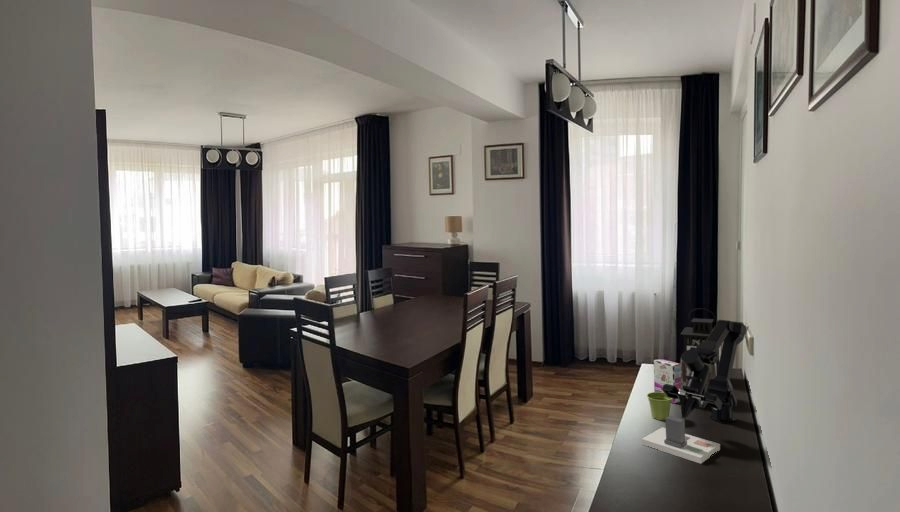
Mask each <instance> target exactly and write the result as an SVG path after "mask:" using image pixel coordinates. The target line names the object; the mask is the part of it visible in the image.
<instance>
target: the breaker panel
mask: <svg viewBox="0 0 900 512" xmlns="http://www.w3.org/2000/svg"><path fill="white" fill-rule="evenodd" d="M665 439H666V427H664V426H661V427H660V428H659V429H657V430H655V431H653V432H651V433H650V434H648V435H646V436H645V437H643V438H641V445H643V446H645V447H648V446H649V447H648V448H651V447H652V449H654V448H655V449H654V450H657V449H658V451H661V452H664V453H666V454H669V455H672V456H676V457H678V458H679V457H680V458H682V459H685V460H687V461H692V462H693V463H697V464H700V465H702V464H703V463H704V462H705V461H707V460H708V459H710V458H711V457H712V456H713V455H712V454H714V453H715V452H716V453H718V452H719V451H720V450H721V443H718V442H715V441H711V440H708V439H704V438H701V437H697V436H694V435H691V434H688V433H685V441H687V444H686V445H685V446H683V447H682V448H679V447H675V446H672V445H669V444H666V443H664V440H665ZM717 451H718V452H717ZM716 453H715V454H716ZM715 454H714V455H715ZM711 455H712V456H711ZM710 456H711V457H710Z"/></svg>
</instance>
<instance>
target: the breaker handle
mask: <svg viewBox="0 0 900 512" xmlns="http://www.w3.org/2000/svg"><path fill="white" fill-rule="evenodd" d="M685 423H686V422H685V419H684V418H682V417H681V418H680V417H676V416H672V415H669V416H668V417H667V418H666V420H665V428H666V439H665V440H664V443H666V444H669V445H672V446H675V447H679V448H682V447H683V446H685V445H686V444H687V441H685V434H686V425H685Z"/></svg>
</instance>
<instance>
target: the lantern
mask: <svg viewBox="0 0 900 512" xmlns="http://www.w3.org/2000/svg"><path fill="white" fill-rule="evenodd" d="M695 310H703V308H702V307H700V308H694V309H692V310H691V311H690V312H689V313H688V316H691V313H692V312H694V311H695ZM704 310H705V311H707V312H710V313H711V314H712V315H713V317H714V318H712V319H711V318H696V317H694V318H692V320H691V319H690V317H688V320H689V321H690V322H691V323H692V327H688V326H686V327H684V329H683V330H682V331H681V333H680V335H683V351H684V352H685V351H686V350H690V347H693V345H692V343H693V341H697V342H699V344H700V343H703V342H705V341H706V340H707V338H708V337H709V335H710V334H711V332H712V330H713V329H714V328H713V323H716V321H717V320H716V315H715V314H714V312H712V311H711V310H710V309H707V308H704ZM697 346H698V344H697V343H696V342H694V347H695V348H696V347H697ZM722 347H723V344H721V346H720V347H719V349H718V354H719V359H718V361H717V362H716V363H715V369H716V375H717V370H718V365H719V361H720V356H721V351H722Z"/></svg>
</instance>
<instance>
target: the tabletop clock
mask: <svg viewBox="0 0 900 512" xmlns="http://www.w3.org/2000/svg"><path fill="white" fill-rule="evenodd" d="M694 342H696V343H697V344H698V345H699V342H697V341H693V343H692V345H693V347H694ZM694 348H695V347H694ZM679 364H681V367H682V387H683V386H685V385H686V382H687V379H686V376H689V374H690V370H689V369H688V368H687V367H686V365H685V364H684V362H683V361H682V359H681V358H680V360H679ZM704 364H706V363H704ZM706 365H707V366H708V367H709V369H710V371H711V375H709V374H708V377H707V380H706V383H705V385H706V390H705V393H707V388H708V386H709V381H710V379H714V378H715V377H716V369H715V364H714V365H712V364H706Z"/></svg>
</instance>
